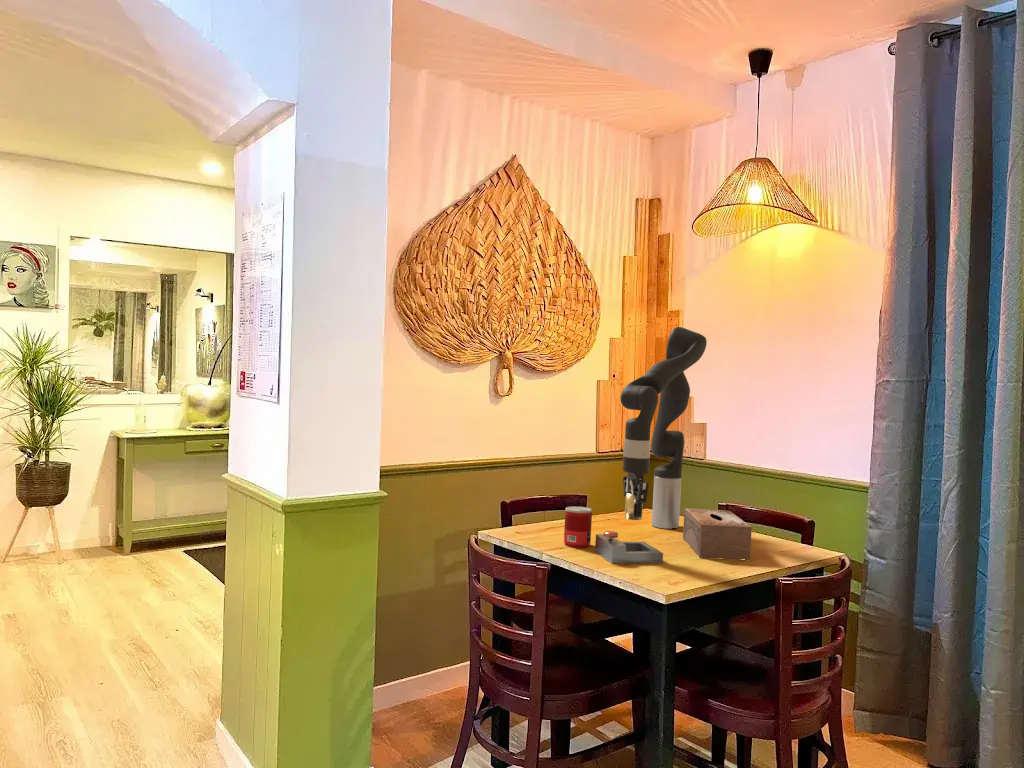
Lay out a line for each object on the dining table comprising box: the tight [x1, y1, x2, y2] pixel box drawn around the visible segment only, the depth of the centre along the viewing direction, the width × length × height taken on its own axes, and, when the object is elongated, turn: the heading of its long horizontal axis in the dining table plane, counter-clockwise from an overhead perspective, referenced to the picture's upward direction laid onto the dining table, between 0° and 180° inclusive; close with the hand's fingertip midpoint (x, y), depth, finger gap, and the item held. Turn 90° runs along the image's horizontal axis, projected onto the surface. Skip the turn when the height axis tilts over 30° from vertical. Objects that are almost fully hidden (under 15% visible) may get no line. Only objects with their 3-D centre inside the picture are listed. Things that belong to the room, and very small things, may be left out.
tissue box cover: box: [682, 507, 753, 561], centre depth 233 cm, size 26×14×10 cm, turn 178°
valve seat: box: [594, 530, 664, 565], centre depth 218 cm, size 14×15×7 cm
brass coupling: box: [624, 493, 644, 521], centre depth 218 cm, size 5×5×7 cm
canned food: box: [563, 506, 593, 549], centre depth 230 cm, size 8×8×11 cm
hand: (633, 514), depth 218 cm, fingers closed on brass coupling, 4 cm apart
